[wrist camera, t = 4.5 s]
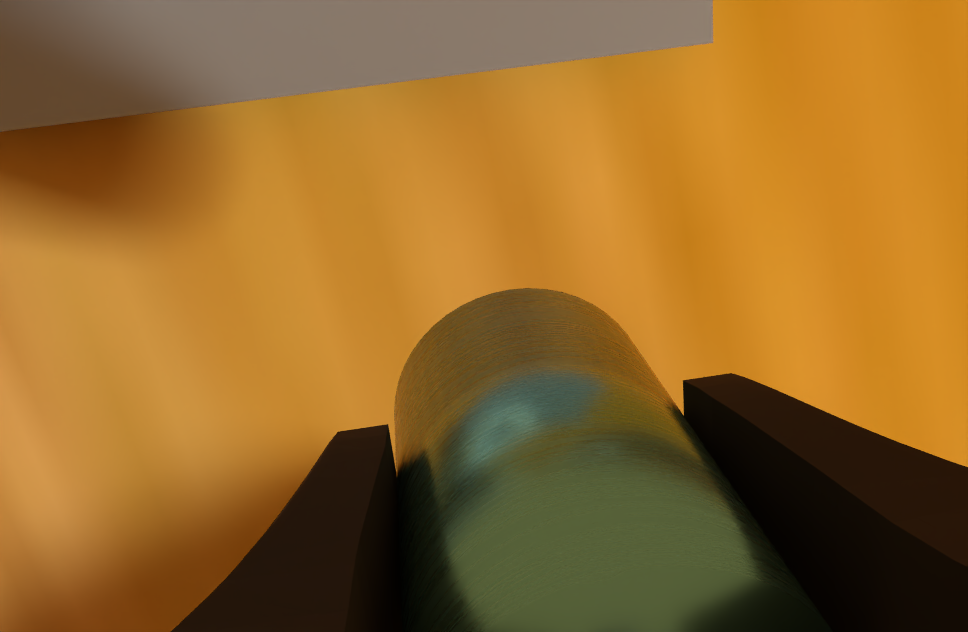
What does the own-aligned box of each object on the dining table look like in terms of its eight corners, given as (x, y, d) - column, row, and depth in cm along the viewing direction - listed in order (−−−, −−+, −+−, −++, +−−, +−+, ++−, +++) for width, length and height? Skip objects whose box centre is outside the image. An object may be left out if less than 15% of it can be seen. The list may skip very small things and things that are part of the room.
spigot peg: (413, 535, 13) (438, 952, 7) (375, 308, 12) (372, 610, 6) (651, 497, 13) (848, 874, 8) (641, 270, 12) (872, 530, 6)
